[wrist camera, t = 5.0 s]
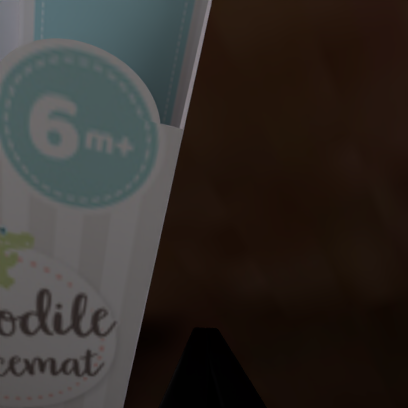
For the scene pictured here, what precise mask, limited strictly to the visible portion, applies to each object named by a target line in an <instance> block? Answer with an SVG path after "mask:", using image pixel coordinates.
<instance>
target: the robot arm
mask: <svg viewBox="0 0 408 408" xmlns="http://www.w3.org/2000/svg"><path fill="white" fill-rule="evenodd" d="M159 408H267V407H266V406H265V404H264V402H263V401H262V399H261V397H260V396H259V394H258V393H257V391H256V389H255V388H254V386H253V385H252V383H251V381H250V380H249V378H248V377H247V375H246V373H245V372H244V370H243V368H242V367H241V365H240V364H239V362H238V360H237V359H236V357H235V356H234V354H233V352H232V351H231V349H230V348H229V346H228V344H227V343H226V341H225V339H224V338H223V336H222V335H221V333H220V331H219V330H218V329H217V328H199V327H195V328H194V329H193V331H192V333H191V335H190V337H189V340H188V342H187V344H186V347H185V349H184V351H183V353H182V356H181V358H180V360H179V363H178V365H177V367H176V369H175V372H174V374H173V376H172V378H171V381H170V383H169V385H168V388H167V390H166V392H165V394H164V397H163V399H162V401H161V404H160V406H159Z"/></svg>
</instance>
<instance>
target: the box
mask: <svg viewBox="0 0 408 408" xmlns="http://www.w3.org/2000/svg"><path fill="white" fill-rule="evenodd" d="M211 3H212V0H0V408H123V407H124V402H125V397H126V393H127V388H128V384H129V379H130V375H131V370H132V365H133V361H134V356H135V352H136V347H137V342H138V338H139V333H140V329H141V324H142V319H143V315H144V310H145V306H146V301H147V297H148V292H149V287H150V283H151V278H152V274H153V269H154V264H155V260H156V255H157V251H158V246H159V242H160V237H161V232H162V228H163V223H164V219H165V214H166V209H167V205H168V200H169V196H170V191H171V187H172V182H173V177H174V173H175V168H176V164H177V159H178V154H179V150H180V145H181V141H182V136H183V132H184V127H185V122H186V118H187V113H188V109H189V104H190V99H191V95H192V90H193V86H194V81H195V77H196V72H197V67H198V63H199V58H200V54H201V49H202V44H203V40H204V35H205V31H206V26H207V22H208V17H209V12H210V8H211Z"/></svg>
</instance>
